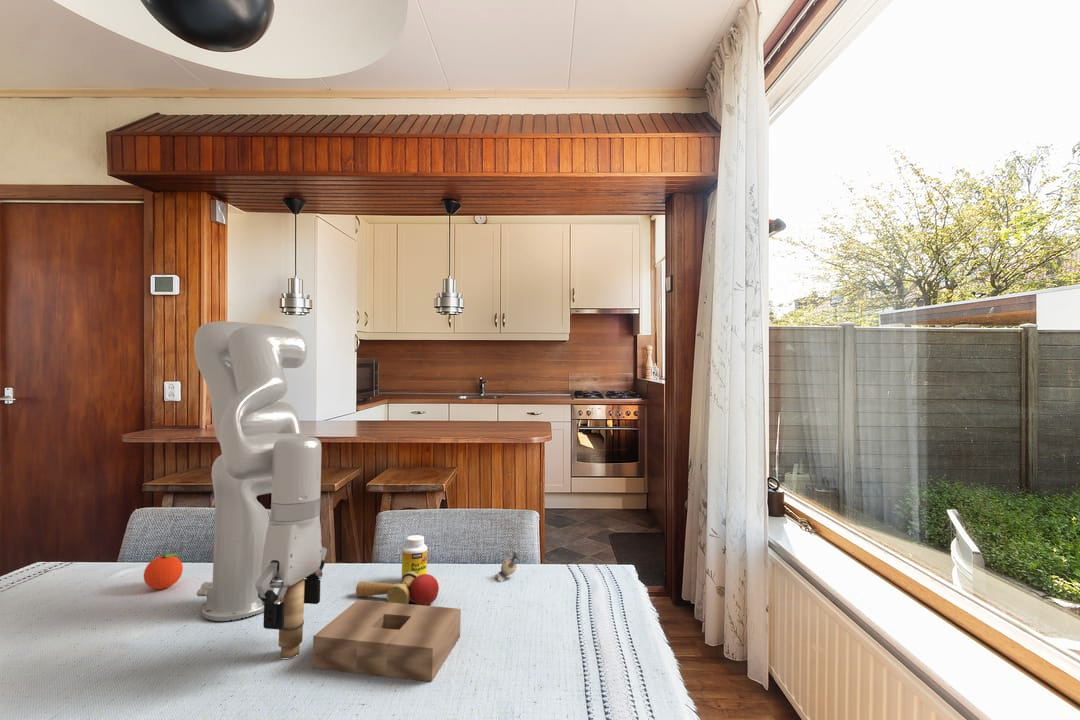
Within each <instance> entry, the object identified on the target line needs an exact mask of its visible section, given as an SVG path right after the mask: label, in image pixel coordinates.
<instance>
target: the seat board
mask: <svg viewBox="0 0 1080 720" xmlns="http://www.w3.org/2000/svg"><path fill="white" fill-rule="evenodd" d="M461 610H462V609H461V608H456V607H455V608H454V607H445V606H434V605H433V606H432V605H417V604H409V603H408V604H401V603H390V602H389V601H388V602H387V601H379V600H378V601H376V600H375V601H374V600H366V599H357V600H356V601H354V602H353V603H352V604H350V605H349V606H348V607H347V608H346V609H344V610H343V611H342V612H341V613H339V614H338V615H337V616H336V617H335V618H333V619H332V620H331V621H330V622H328V623H327V624H326V625H325V626H324V627H323V628H321V629H320V630H319V631H318V632H317V633H315V634H314V635H313V637H312V638H313V641H312V642H313V643H312V644H313V646H312V667H311V668H312V669H318V670H327V671H337V672H343V673H353V674H363V675H372V676H379V677H387V678H388V677H389V678H397V679H406V680H414V681H415V680H416V681H423V682H425V681H426V682H433V681H434V679H435V678H436V676H437V674H438V673H439V671H440V669H441V668H442V666H443V665H444V664H445V662H446V660H447V659H448V657H449V655H450V654H451V652H452V651H453V649H454V647H455V646H456V644H457V643H458V641H459V640H458V639H460V638H461V616H462V615H461V613H462V611H461ZM459 637H460V638H459ZM456 642H457V643H456Z"/></svg>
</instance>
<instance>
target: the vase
mask: <svg viewBox="0 0 1080 720" xmlns="http://www.w3.org/2000/svg"><path fill="white" fill-rule="evenodd" d="M522 559H523V558H522V556H521V555H520V554H518V553H517V552H516V551H514V552H513V554H512V557H511V558H506V559H505V560H504V561H503V562H502V563H501V565H500V571H499V570H498V573H497V575H498V577H497V581H502V582H504V581H503V580H506V579H507V576H510V575H513V573H515V572H516V569H517V562H518V561H521V560H522Z"/></svg>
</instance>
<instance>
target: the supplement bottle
mask: <svg viewBox="0 0 1080 720" xmlns="http://www.w3.org/2000/svg"><path fill="white" fill-rule="evenodd" d="M401 551H402V555H401V556H402V557H401V578H400V579H401V581H402V577H403V576H404V575H405V574H406V573H407V572H410V571H412V572H415V573H417V574H418V575H422V574H427V569H428V565H427V564H428V563H427V562H428V546H427V545H426V544H425V537H424V536H423V535H419V534H413V535H408V536H406V539H405V545H404V546H403V547H402V550H401Z"/></svg>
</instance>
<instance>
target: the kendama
mask: <svg viewBox="0 0 1080 720" xmlns="http://www.w3.org/2000/svg"><path fill="white" fill-rule="evenodd" d="M401 579H402V581H401V583H386V582H371V581H369V582H367V581H359V582H358V583H357V585H356V586H355V595H356V597H357V598H362V597H371V596H382V595H386V599H387V601H388V602H390V603H401V604H409V603H410V600H411V601H412V602H413V603H414V604H415V605H424V606H429V605H430V604H432V603H433V602H435V600H436V599H437V598H438V595H439V589H440V587H439V583H438V580H437V578H435V577H434V576H433V575H431V574H429V573H426V574H422V575H418V574H417V573H415V572H412V571H410V572H407V573H406V574H405V575H404V576H403V577H402V576H401Z"/></svg>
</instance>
